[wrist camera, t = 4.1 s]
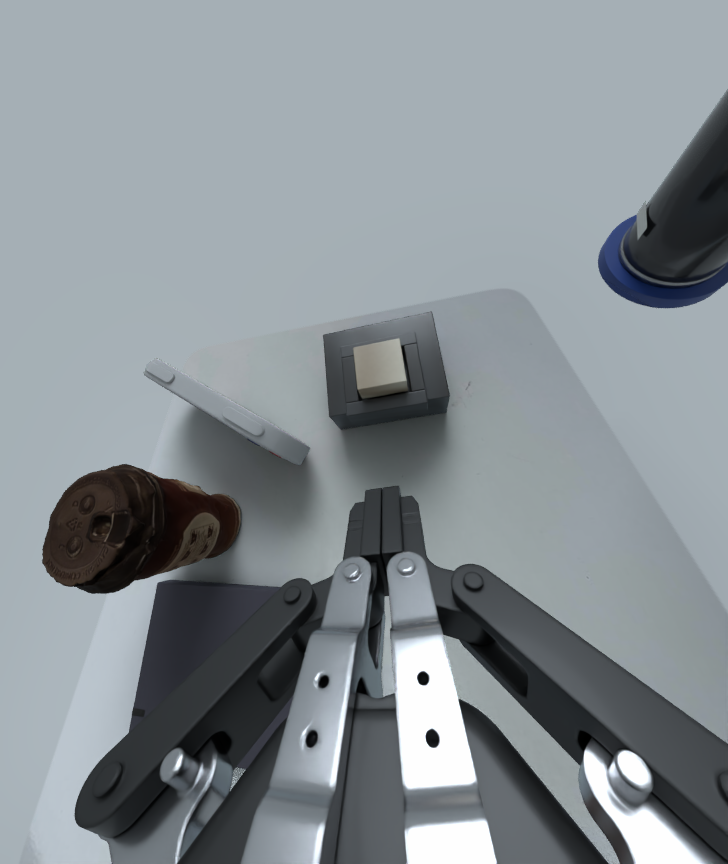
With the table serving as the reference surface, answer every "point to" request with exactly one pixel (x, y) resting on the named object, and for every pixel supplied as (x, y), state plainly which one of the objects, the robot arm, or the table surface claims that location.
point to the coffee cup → (133, 528)
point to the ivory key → (380, 369)
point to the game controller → (228, 412)
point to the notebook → (194, 640)
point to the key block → (420, 369)
